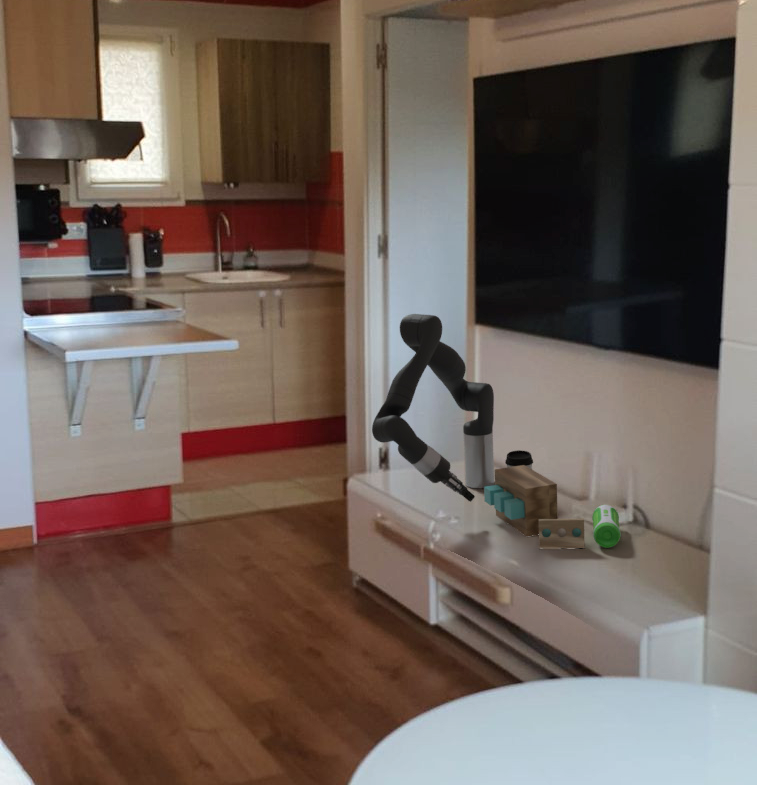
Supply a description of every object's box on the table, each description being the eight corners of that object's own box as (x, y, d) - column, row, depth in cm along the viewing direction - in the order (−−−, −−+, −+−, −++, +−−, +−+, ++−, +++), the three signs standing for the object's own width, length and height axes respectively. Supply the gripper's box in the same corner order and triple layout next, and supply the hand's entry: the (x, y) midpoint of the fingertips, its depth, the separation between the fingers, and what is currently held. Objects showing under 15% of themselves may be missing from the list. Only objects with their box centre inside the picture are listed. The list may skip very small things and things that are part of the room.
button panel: (526, 537, 324) (525, 488, 321) (496, 515, 343) (494, 469, 340) (557, 531, 326) (556, 483, 323) (525, 510, 346) (524, 465, 343)
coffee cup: (533, 496, 358) (532, 449, 355) (534, 505, 350) (533, 457, 346) (506, 497, 359) (504, 450, 356) (506, 506, 351) (505, 458, 347)
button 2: (511, 519, 322) (510, 504, 321) (504, 515, 327) (504, 500, 326) (530, 516, 324) (530, 501, 323) (524, 511, 328) (523, 497, 327)
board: (539, 542, 319) (538, 515, 317) (583, 542, 317) (583, 514, 315) (539, 549, 314) (538, 521, 312) (584, 548, 312) (584, 520, 311)
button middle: (500, 512, 329) (500, 497, 328) (494, 508, 333) (493, 493, 332) (520, 509, 331) (519, 494, 330) (513, 504, 335) (513, 490, 334)
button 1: (490, 505, 335) (490, 490, 334) (484, 501, 340) (484, 486, 339) (509, 502, 337) (509, 487, 336) (503, 498, 341) (503, 483, 340)
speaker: (621, 550, 310) (621, 523, 309) (593, 550, 312) (593, 523, 310) (618, 528, 327) (618, 502, 326) (592, 528, 328) (591, 502, 327)
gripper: (447, 458, 323) (489, 494, 330) (430, 447, 336) (471, 482, 342) (430, 479, 323) (472, 515, 329) (413, 467, 335) (455, 502, 342)
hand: (471, 498), depth 336 cm, fingers closed
